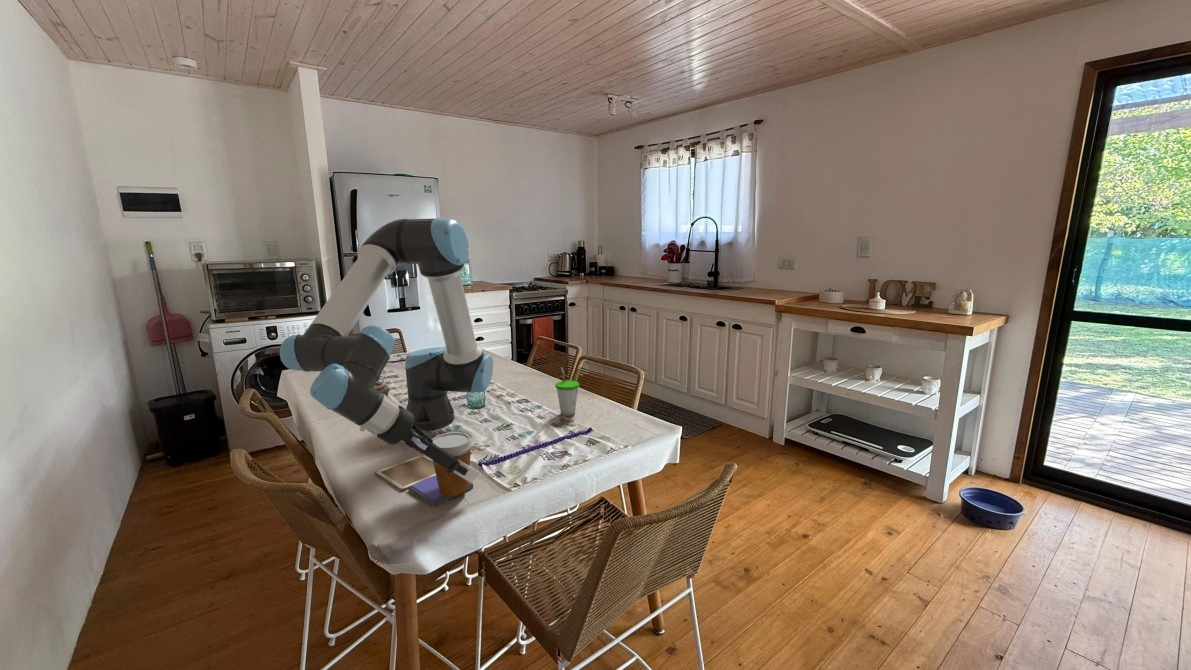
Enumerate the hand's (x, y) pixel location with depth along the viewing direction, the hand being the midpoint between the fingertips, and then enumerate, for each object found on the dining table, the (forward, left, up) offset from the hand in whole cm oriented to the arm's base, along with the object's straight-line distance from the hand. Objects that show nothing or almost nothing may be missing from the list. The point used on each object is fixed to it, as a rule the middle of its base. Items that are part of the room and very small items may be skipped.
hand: (466, 469), depth 112 cm
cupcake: (-13, -74, -5) cm, 76 cm away
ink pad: (+4, -5, -5) cm, 8 cm away
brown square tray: (+4, -17, -5) cm, 19 cm away
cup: (-50, -16, -5) cm, 53 cm away
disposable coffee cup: (+3, -1, -4) cm, 5 cm away
